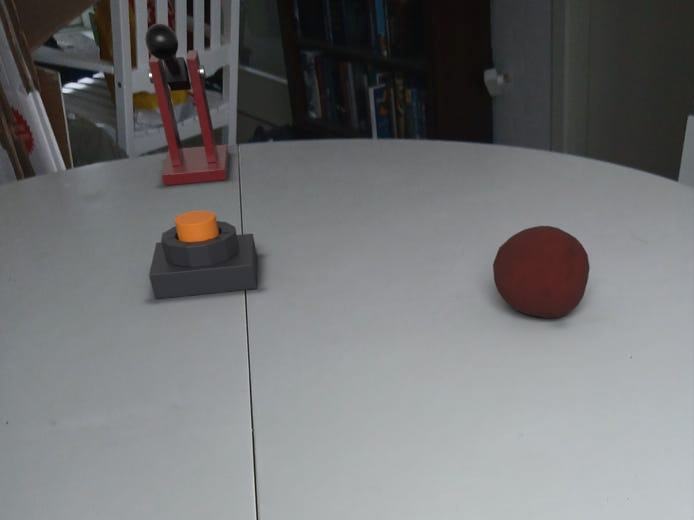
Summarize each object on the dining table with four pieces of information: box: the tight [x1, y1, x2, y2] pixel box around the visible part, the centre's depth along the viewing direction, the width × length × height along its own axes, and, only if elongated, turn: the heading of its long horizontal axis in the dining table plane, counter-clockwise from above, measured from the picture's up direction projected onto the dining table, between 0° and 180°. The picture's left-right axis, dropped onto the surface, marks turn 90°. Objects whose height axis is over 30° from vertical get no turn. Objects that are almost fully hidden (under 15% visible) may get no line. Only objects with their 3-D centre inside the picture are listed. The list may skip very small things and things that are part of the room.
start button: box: [174, 210, 219, 242], centre depth 88 cm, size 4×4×2 cm
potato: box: [492, 225, 591, 319], centre depth 81 cm, size 7×8×7 cm
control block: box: [148, 220, 258, 300], centre depth 90 cm, size 9×8×4 cm
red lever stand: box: [147, 49, 230, 186], centre depth 112 cm, size 10×7×12 cm
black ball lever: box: [144, 23, 192, 92], centre depth 105 cm, size 12×3×3 cm, turn 10°
